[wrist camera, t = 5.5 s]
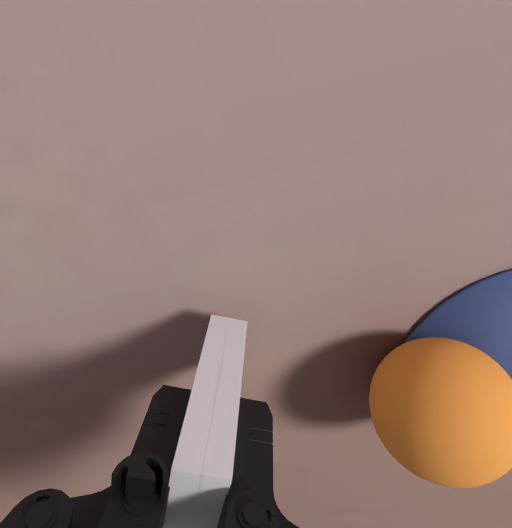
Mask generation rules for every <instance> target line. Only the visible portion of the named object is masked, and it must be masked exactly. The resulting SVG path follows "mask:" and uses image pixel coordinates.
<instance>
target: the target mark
mask: <svg viewBox="0 0 512 528" xmlns="http://www.w3.org/2000/svg"><path fill="white" fill-rule="evenodd" d="M429 337H441V338H449V339H454V340H458V341H461V342H464V343H467V344H469V345H471V346H473V347H475V348H477V349H479V350H481V351H482V352H484V353H486V354H487V355H488V356H489V357H491V358H492V359H493V360H494V361H496V362H497V363H498V364H499V365H500V366H501V367H502V368H503V369H504V370H505V371H506V373H507V374H508V375H509V376H510V378H511V379H512V269H510V270H506V271H503V272H500V273H497V274H495V275H492V276H489V277H487V278H484V279H482V280H480V281H478V282H476V283H474V284H472V285H470V286H468V287H466V288H464V289H462V290H460V291H459V292H457V293H456V294H454V295H453V296H451V297H449V298H448V299H446V300H445V301H444V302H442V303H441V304H440V305H439V306H437V307H436V308H435V309H434V310H432V311H431V312H430V313H429V314H428V315H427V316H426V317H425V318H424V319H423V320H422V321H421V322H420V323H419V324H418V325H417V326H416V327H415V329H414V330H413V331H412V332H411V334H410V335H409V336H408V338H407V339H406V341H405V343H406V342H409V341H412V340H416V339H420V338H429Z"/></svg>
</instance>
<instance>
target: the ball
mask: <svg viewBox="0 0 512 528" xmlns="http://www.w3.org/2000/svg"><path fill="white" fill-rule="evenodd" d="M369 406H370V413H371V417H372V421H373V424H374V427H375V429H376V432H377V434H378V436H379V437H380V439H381V441H382V442H383V444H384V446H385V447H386V449H387V450H388V451H389V452H390V453H391V455H392V456H393V457H394V458H395V459H396V460H397V461H398V462H399V463H400V464H401V465H403V466H404V467H405V468H406V469H408V470H409V471H410V472H412V473H413V474H415V475H417V476H419V477H421V478H423V479H425V480H427V481H429V482H432V483H435V484H438V485H441V486H446V487H452V488H472V487H478V486H481V485H485V484H488V483H491V482H493V481H495V480H497V479H498V478H500V477H501V476H503V475H504V474H505V473H507V472H508V471H509V470H510V469H511V468H512V379H511V378H510V376H509V375H508V374H507V373H506V371H505V370H504V369H503V368H502V367H501V366H500V365H499V364H498V363H497V362H496V361H494V360H493V359H492V358H491V357H489V356H488V355H487V354H486V353H484V352H482V351H481V350H479V349H477V348H475V347H473V346H471V345H469V344H467V343H464V342H461V341H458V340H454V339H449V338H441V337H429V338H420V339H416V340H412V341H409V342H406V343H404V344H402V345H400V346H398V347H397V348H395V349H394V350H393V351H391V352H390V353H389V354H388V355H387V356H386V357H385V358H384V359H383V360H382V362H381V363H380V364H379V366H378V367H377V369H376V371H375V373H374V376H373V378H372V382H371V386H370V393H369Z"/></svg>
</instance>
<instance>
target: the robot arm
mask: <svg viewBox="0 0 512 528" xmlns="http://www.w3.org/2000/svg"><path fill="white" fill-rule="evenodd" d="M246 331H247V321H242V320H237V319H232V318H227V317H222V316H216V315H211V318H210V322H209V325H208V329H207V333H206V337H205V341H204V345H203V349H202V352H201V356H200V360H199V364H198V368H197V372H196V376H195V379H194V383H193V387H192V390H189V389H183V388H178V387H172V386H166V385H163V386H162V387H161V388H160V389H159V390H158V391H157V392H156V393H155V394H154V395H153V397H152V400H151V403H150V405H149V408H148V411H147V413H146V416H145V418H144V421H143V424H142V426H141V429H140V432H139V434H138V437H137V440H136V442H135V445H134V447H133V450H132V453H131V455H130V456H128V457H126V458H125V459H124V460H122V461H121V462H120V463H119V464H118V465H117V466H116V468H115V470H114V471H113V473H112V482H111V486H110V487H108V488H106V489H105V490H103V491H101V492H97V493H94V494H90V495H84V496H79V497H73V498H69V496H67V495H66V494H65V493H64V492H63V491H61V490H56V489H45V490H39V491H37V492H35V493H33V494H31V495H29V496H27V497H25V498H24V499H23V500H22V501H21V502H20V503H18V504H17V505H16V506H15V507H14V508H13V509H12V510H11V512H10V513H9V514H8V515H7V516H6V517H5V518H4V520H3V521H2V522H1V523H0V528H299V527H297V526H295V525H294V524H292V523H291V522H290V521H288V520H287V519H286V518H285V517H284V516H283V515H282V513H281V512H280V510H279V509H278V507H277V505H276V502H275V499H274V493H273V445H272V443H273V433H272V431H273V417H272V414H271V411H270V409H269V407H268V405H267V403H266V402H261V401H256V400H250V399H245V398H240V393H241V383H242V373H243V362H244V352H245V341H246Z"/></svg>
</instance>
